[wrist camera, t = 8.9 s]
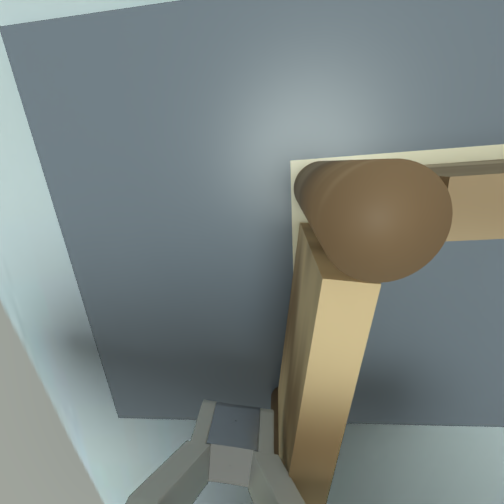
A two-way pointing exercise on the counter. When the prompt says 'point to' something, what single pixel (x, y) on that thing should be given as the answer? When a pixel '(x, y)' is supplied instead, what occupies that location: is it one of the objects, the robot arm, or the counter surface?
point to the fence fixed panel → (398, 211)
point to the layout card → (263, 189)
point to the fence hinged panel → (319, 365)
